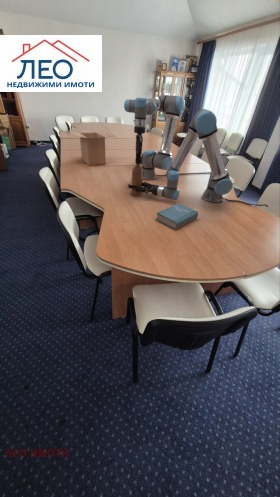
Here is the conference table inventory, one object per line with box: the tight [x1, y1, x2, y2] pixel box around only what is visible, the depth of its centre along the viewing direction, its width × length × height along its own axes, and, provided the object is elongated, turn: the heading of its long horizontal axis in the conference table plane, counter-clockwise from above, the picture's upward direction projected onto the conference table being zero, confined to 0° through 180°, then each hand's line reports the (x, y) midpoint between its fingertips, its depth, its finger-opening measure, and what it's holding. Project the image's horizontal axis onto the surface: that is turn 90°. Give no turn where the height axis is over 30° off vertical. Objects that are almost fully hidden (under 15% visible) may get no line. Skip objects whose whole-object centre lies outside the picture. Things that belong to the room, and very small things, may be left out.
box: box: [70, 129, 114, 166], centre depth 229 cm, size 44×36×27 cm
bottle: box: [130, 163, 144, 197], centre depth 165 cm, size 8×8×25 cm
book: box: [155, 203, 199, 230], centre depth 142 cm, size 23×16×5 cm
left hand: (137, 162), depth 159 cm, fingers closed on cap, 4 cm apart
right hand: (131, 184), depth 170 cm, fingers closed on bottle, 8 cm apart
